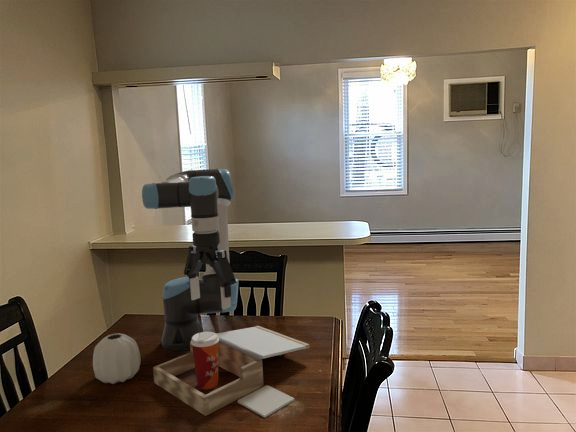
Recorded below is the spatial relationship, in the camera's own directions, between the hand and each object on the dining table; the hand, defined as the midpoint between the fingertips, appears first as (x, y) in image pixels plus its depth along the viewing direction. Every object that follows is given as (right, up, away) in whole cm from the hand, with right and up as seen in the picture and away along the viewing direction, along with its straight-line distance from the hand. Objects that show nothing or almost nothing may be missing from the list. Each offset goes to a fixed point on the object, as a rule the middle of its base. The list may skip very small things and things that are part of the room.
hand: (210, 303), depth 135 cm
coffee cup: (-1, -25, +3) cm, 25 cm away
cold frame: (-1, -25, +3) cm, 25 cm away
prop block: (+18, -21, +23) cm, 36 cm away
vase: (-30, -25, +9) cm, 40 cm away
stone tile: (+16, -25, -8) cm, 31 cm away
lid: (+13, -18, +17) cm, 27 cm away
